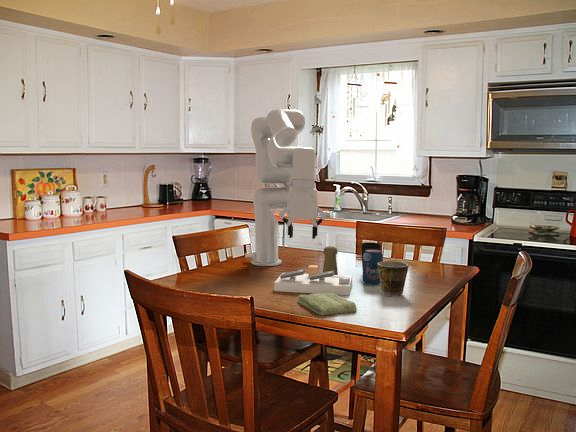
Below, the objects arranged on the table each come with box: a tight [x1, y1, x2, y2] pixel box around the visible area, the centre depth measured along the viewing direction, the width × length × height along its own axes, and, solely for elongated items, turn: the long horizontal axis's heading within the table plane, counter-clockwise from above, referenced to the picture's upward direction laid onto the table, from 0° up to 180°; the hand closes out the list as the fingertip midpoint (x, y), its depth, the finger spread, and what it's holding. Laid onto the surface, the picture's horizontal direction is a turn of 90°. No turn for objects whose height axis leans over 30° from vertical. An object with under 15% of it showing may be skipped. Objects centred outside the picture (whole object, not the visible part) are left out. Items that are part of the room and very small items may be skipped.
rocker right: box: [310, 271, 334, 280], centre depth 184 cm, size 8×4×1 cm, turn 80°
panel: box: [273, 272, 353, 296], centre depth 189 cm, size 25×15×4 cm, turn 80°
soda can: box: [362, 249, 384, 287], centre depth 195 cm, size 7×7×12 cm
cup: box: [360, 242, 382, 269], centre depth 208 cm, size 8×8×12 cm
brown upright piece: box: [321, 245, 339, 275], centre depth 207 cm, size 6×6×11 cm
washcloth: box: [297, 293, 357, 316], centre depth 166 cm, size 13×18×3 cm
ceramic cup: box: [378, 260, 409, 297], centre depth 180 cm, size 13×10×10 cm
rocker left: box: [279, 268, 306, 279], centre depth 186 cm, size 8×4×1 cm, turn 80°
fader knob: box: [307, 264, 319, 275], centre depth 193 cm, size 3×3×3 cm
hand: (302, 237), depth 184 cm, fingers open, 7 cm apart
